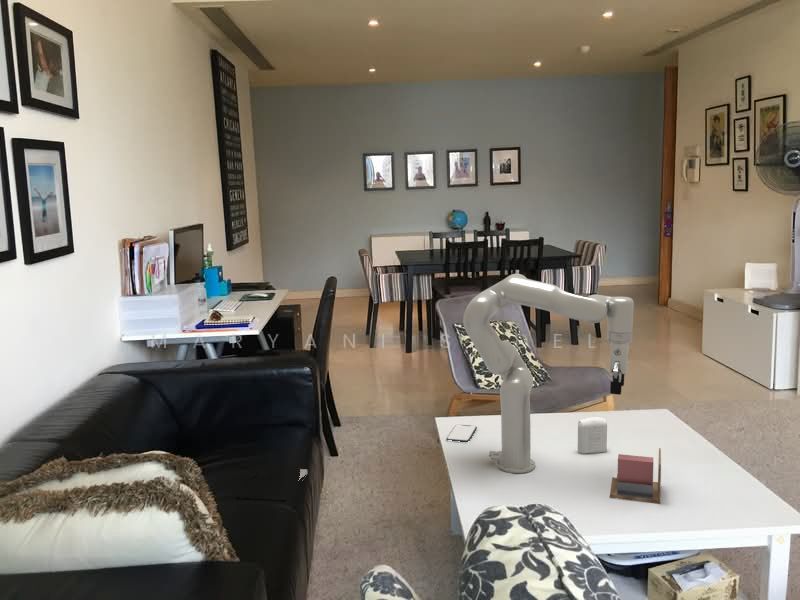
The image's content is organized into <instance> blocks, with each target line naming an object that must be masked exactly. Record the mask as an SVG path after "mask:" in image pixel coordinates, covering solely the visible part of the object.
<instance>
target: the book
mask: <svg viewBox="0 0 800 600" xmlns="http://www.w3.org/2000/svg"><path fill="white" fill-rule="evenodd" d="M617 474H618V477H617V476H616V478H617V481H620V482H629V483H639V484H648V485H653V482H654V457H652V456H643V455H632V454H631V455H630V454H621V453H619V454H618V457H617Z"/></svg>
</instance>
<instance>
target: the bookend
mask: <svg viewBox="0 0 800 600" xmlns="http://www.w3.org/2000/svg"><path fill="white" fill-rule="evenodd" d="M617 495H620V496H628V497H637V498H646V499H653V485H648V484H639V483H629V482H620V481H617Z"/></svg>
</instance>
